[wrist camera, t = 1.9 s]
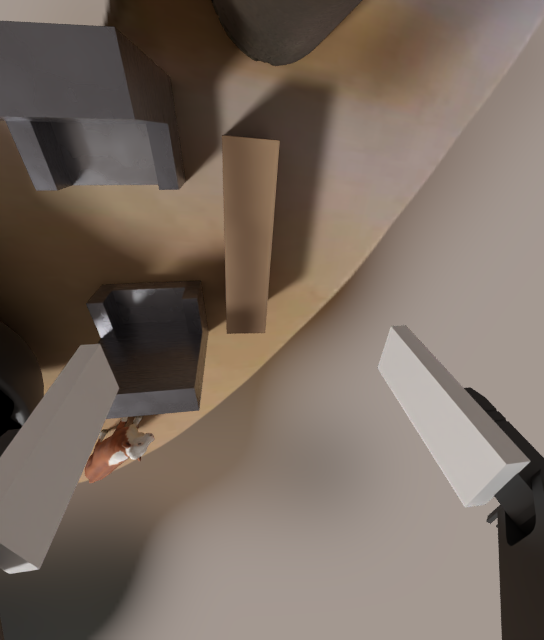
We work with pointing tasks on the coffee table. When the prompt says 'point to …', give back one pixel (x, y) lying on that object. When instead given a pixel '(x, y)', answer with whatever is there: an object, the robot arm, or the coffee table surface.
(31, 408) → the dark grey bowl
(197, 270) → the coffee table surface
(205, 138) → the coffee table surface
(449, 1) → the coffee table surface
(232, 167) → the rail
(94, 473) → the bull figurine
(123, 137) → the grey stand
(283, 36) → the pillar candle
